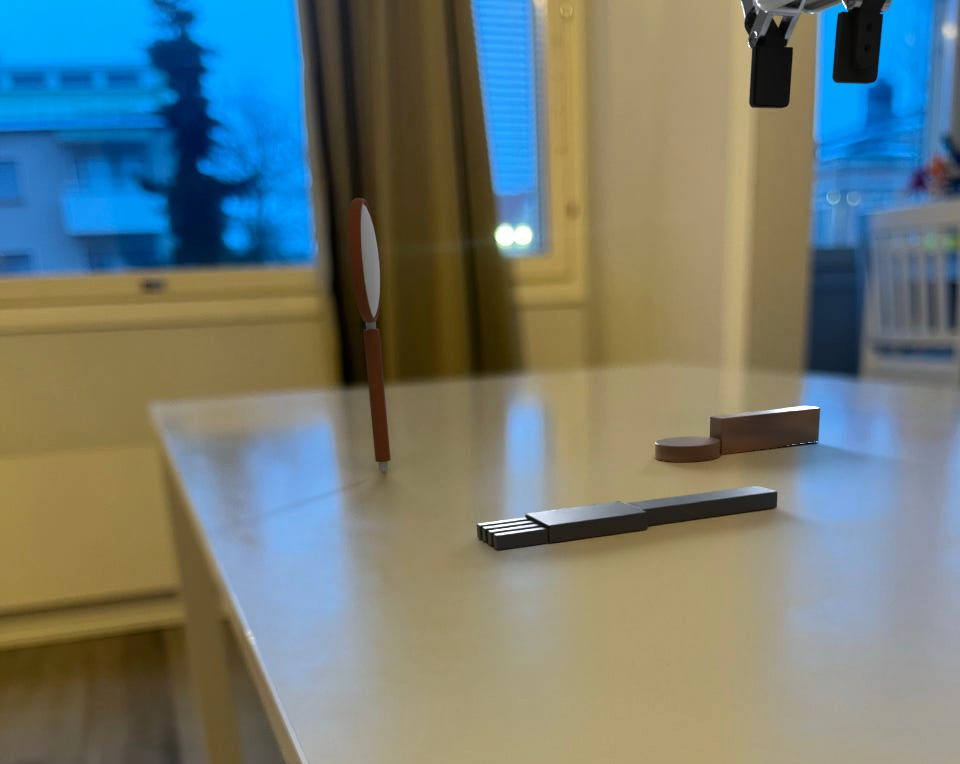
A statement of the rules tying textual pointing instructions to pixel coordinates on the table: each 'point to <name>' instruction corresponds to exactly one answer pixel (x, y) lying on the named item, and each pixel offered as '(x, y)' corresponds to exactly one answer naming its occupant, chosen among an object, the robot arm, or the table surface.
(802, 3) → the robot arm
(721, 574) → the table surface
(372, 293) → the magnifying glass
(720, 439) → the brown disc and block
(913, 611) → the table surface
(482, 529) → the fork
